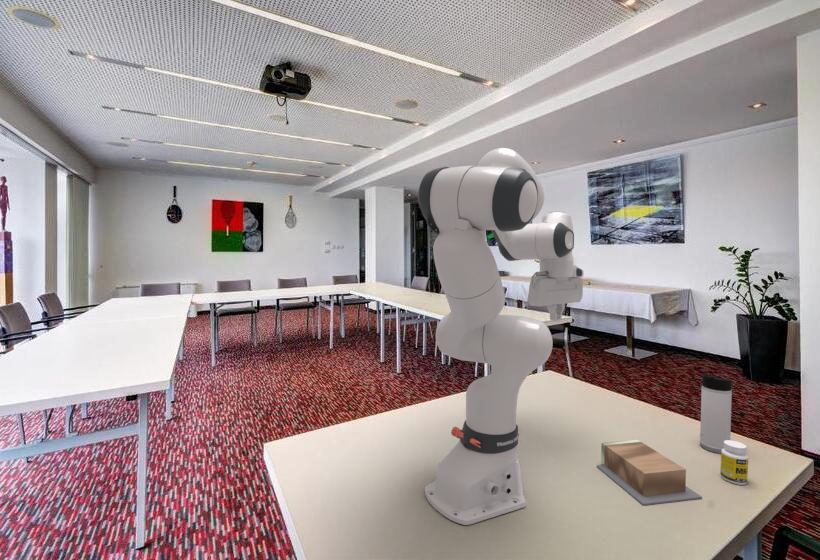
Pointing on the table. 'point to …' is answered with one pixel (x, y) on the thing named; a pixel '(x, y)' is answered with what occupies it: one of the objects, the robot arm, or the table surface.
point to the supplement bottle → (734, 462)
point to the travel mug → (715, 412)
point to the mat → (650, 500)
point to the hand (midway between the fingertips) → (555, 320)
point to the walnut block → (643, 467)
